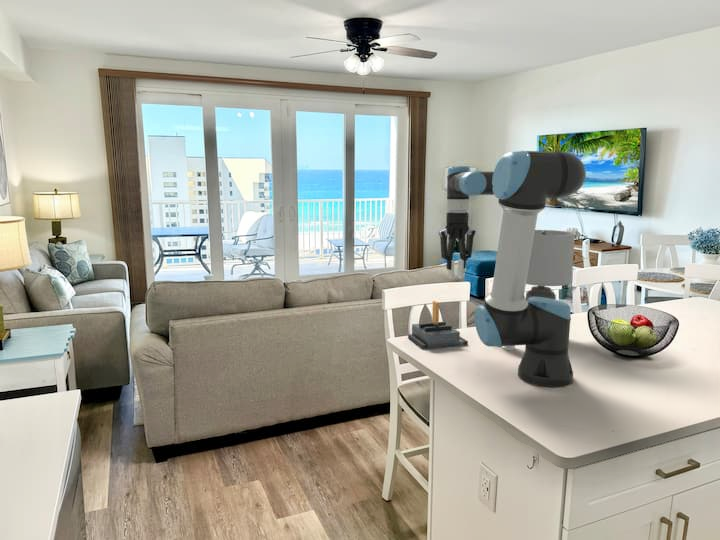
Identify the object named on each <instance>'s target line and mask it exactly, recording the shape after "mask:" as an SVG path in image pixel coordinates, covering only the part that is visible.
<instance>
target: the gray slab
mask: <svg viewBox="0 0 720 540" xmlns="http://www.w3.org/2000/svg"><path fill="white" fill-rule="evenodd" d="M468 343H469V341H468V340H466V339H465V338H463V337H461V336H460V341H459V346H458V347H463V346H468Z"/></svg>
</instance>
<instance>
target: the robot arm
mask: <svg viewBox="0 0 720 540" xmlns="http://www.w3.org/2000/svg"><path fill="white" fill-rule="evenodd" d="M586 170H587V169H586V166H585V164H584V163H583V161H582V160H581V159H580V158H579V157H578V156H576V155H574V154H572V153H570V152H568V151H559V150H558V151H557V150H556V151H545V150H544V151H543V150H542V151H541V150H535V151H534V150H533V151H532V150H520V151H519V150H518V151H509V152H506V153H505V154H503V155H502V156H501V158H499V160H498V162H497V163H496V165H495V167H494V170H493V171H477V170H476V171H475V170H474V171H473V170H471V168H470V166H466V165H453V166H452V165H451V166H449V167H448V169H447V176H446V178H447V179H446V181H447V183H446V184H447V185H446V192H447V193H446V211H447V213H446V218H445V219H446V226H445V228H444V229H443V230H439V231H438V236H439V238H440V253H441V255H440V257H441V259H444V260H446V269H447V270H448V279H449V280H455V260H453V258H454V257H453V256H454V250H455V245H456V242H457V241H458V248H459V250H458V251H459V257H460V259H458V261H457V278H458V279H461V280H464V270H465V269H466V266H467V261H468V259H471V258H472V253H473V252H472V251H473V245H474V236H475V234H476V230H474V229H471V228H470V226H469V215H470V214H469V210H470V196H473V197H474V196H493V195H494V197H496V199H498V205H499V207H501V209H502V218H501V222H500V223H501V225H500V232H499V238H498V244H497V251H496V258H495V267H494V273H493V278H492V279H493V280H492V286H491V287H492V288H491V292H489V293H487V294H486V295H485V297H484V304H479V305H478V306H476V308H475V309H474V325H475V329H476V333H477V335H478V338H479V340H480V341H481V342H482V344H483V345H485V346H487V347H491V348H492V347H497V348H502V347H501V346H525V348H524V352H523V355H522V356H521V360H520V363H519V364H518V367H517V376H518V377H519V379H521V380H522V381H524V382H526V383H527V384H531V385H535V386H540V387H546V388H547V387H548V388H558V387H559V388H560V387H566V386H570V385H572V383H574V371H573V368H572V363H571V359H570V358H569V357H570V356H569V347H570V346H569V345H570V330H571V321H572V316H571V315H572V314H571V307H570V305H569V304H568V303H566V302H564V301H562V300H558V299H556V300H554V299H550V298H544V297H529V298H528V300H526V297H525V292H526V291H525V290H526V287H527V284H526V280H527V274H528V268H529V263H530V257H531V251H532V245H533V239H534V233H535V230H536V226H537V219H538V214H539V213H541V212H542V211H543V210H544V209H546V205H547V200H548V199H559V198H561V199H562V198H566V197H567V198H568V197H569V196H571V195H574V194H575V193H577V192H578V191H580V189H581V188H582V187H583V185H584V183H585V182H586V178H587V177H586V175H587V172H586ZM447 234H448V237H447ZM466 234H467V235H466ZM447 238H448V242H447Z"/></svg>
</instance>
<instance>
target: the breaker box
mask: <svg viewBox="0 0 720 540" xmlns="http://www.w3.org/2000/svg"><path fill="white" fill-rule="evenodd" d="M411 334H412V335H413V336H415V337H416V338H417V339H419V340H420V341H422V342H423V343H424V344H426V349H427V350H431V349H442V348H451V347H460V346H459V341H460V337H461V336H460V335H461V332H460V331H459V330H457V329H455V328H454V327H453V325H451V324H447V323H446V321H439V326H435V325H433V324H432V322H425V323H423V322H422V323H412V324H411Z"/></svg>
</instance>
